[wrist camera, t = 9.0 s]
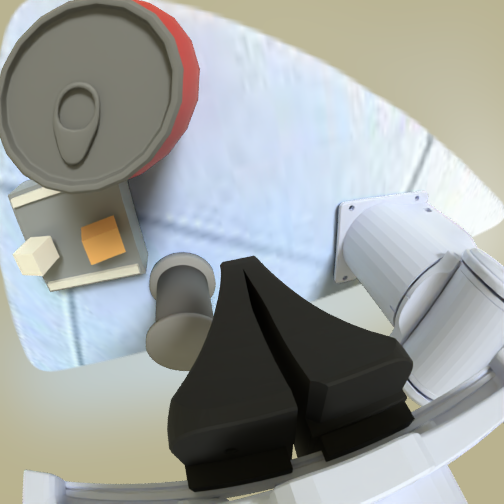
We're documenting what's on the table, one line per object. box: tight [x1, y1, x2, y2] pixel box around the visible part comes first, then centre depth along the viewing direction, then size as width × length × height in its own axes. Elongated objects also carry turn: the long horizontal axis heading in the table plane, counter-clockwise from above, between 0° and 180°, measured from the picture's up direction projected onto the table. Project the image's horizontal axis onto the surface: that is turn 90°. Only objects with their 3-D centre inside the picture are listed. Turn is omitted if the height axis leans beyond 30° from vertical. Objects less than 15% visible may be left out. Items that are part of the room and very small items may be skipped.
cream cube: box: [13, 236, 59, 276], centre depth 16 cm, size 2×2×2 cm
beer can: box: [0, 0, 200, 194], centre depth 11 cm, size 7×7×12 cm
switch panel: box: [8, 179, 148, 292], centre depth 18 cm, size 8×8×3 cm
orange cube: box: [81, 215, 126, 265], centre depth 16 cm, size 2×2×2 cm
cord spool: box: [146, 252, 216, 371], centre depth 21 cm, size 5×5×7 cm
